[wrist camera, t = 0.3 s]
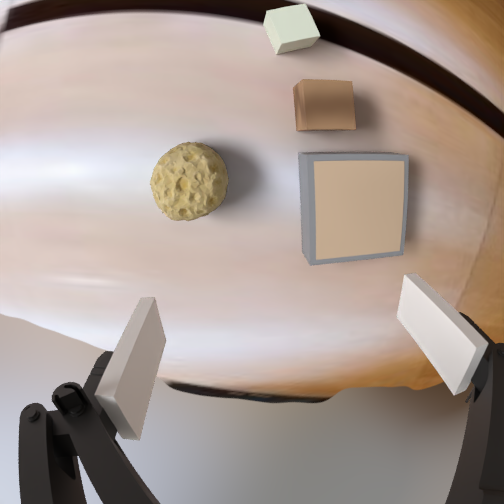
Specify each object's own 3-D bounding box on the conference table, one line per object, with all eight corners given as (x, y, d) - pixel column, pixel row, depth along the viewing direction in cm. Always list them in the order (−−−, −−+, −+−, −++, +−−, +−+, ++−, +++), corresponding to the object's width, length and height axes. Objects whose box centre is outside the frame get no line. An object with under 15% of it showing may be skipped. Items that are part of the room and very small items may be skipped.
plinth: (298, 152, 37) (307, 155, 32) (390, 152, 38) (409, 155, 33) (302, 251, 42) (310, 266, 38) (387, 243, 43) (403, 255, 38)
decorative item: (186, 141, 40) (128, 151, 32) (242, 136, 34) (182, 142, 27) (194, 205, 43) (140, 225, 36) (248, 209, 38) (193, 234, 30)
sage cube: (263, 25, 30) (266, 10, 26) (297, 17, 30) (305, 3, 25) (276, 54, 32) (281, 43, 28) (310, 46, 32) (320, 35, 27)
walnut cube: (292, 87, 34) (302, 79, 29) (336, 88, 34) (352, 81, 29) (296, 130, 36) (306, 129, 31) (339, 130, 36) (355, 129, 31)
